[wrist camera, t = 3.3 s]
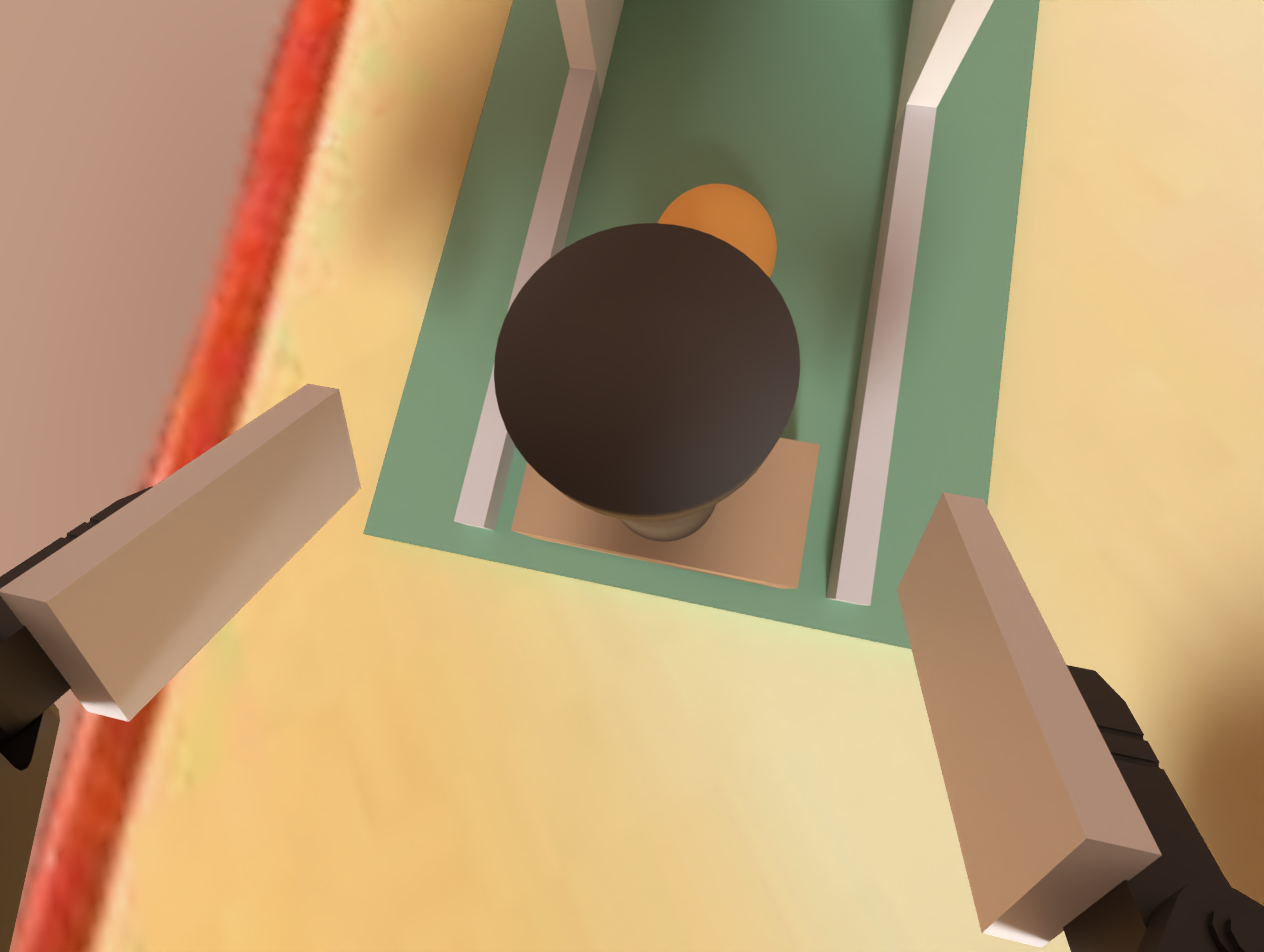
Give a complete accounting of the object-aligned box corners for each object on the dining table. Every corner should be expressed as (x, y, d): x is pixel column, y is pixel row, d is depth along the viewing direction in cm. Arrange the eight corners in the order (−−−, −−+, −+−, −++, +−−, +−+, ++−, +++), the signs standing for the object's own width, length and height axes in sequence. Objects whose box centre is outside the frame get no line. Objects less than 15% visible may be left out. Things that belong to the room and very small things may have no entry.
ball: (775, 240, 21) (797, 162, 17) (757, 345, 20) (775, 288, 17) (665, 225, 22) (661, 145, 18) (643, 327, 21) (634, 267, 17)
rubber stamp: (798, 466, 19) (997, 261, 7) (779, 588, 19) (961, 587, 7) (562, 423, 20) (388, 178, 8) (536, 539, 20) (302, 458, 7)
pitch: (1031, -19, 23) (1063, -75, 21) (958, 658, 19) (991, 666, 17) (540, -60, 25) (528, -114, 23) (374, 536, 21) (344, 530, 19)
